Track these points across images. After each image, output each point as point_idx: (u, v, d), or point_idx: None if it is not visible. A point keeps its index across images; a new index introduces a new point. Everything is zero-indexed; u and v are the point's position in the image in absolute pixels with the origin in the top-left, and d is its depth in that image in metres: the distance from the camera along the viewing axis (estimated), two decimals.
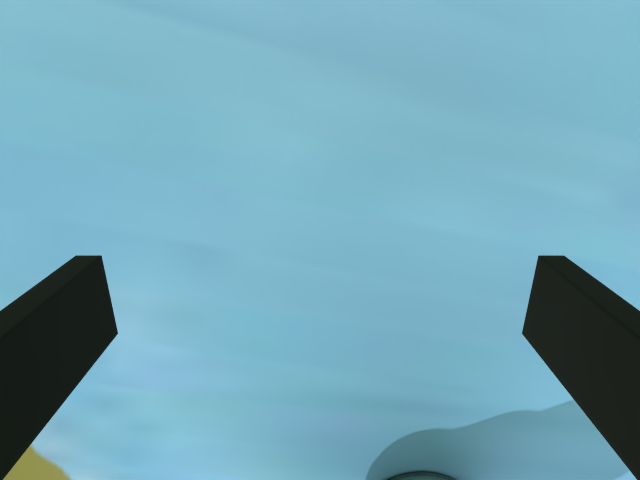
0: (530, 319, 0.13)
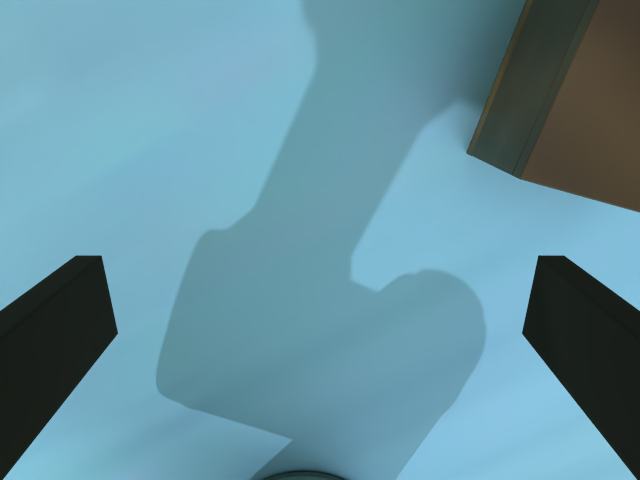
0: (530, 319, 0.13)
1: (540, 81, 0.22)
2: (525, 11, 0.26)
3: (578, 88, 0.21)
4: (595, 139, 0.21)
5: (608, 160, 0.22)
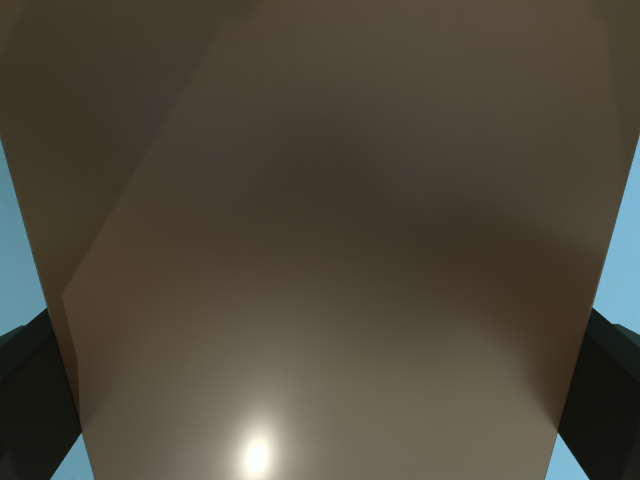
0: None
1: None
2: None
3: (93, 321, 0.08)
4: (203, 400, 0.09)
5: (259, 427, 0.09)
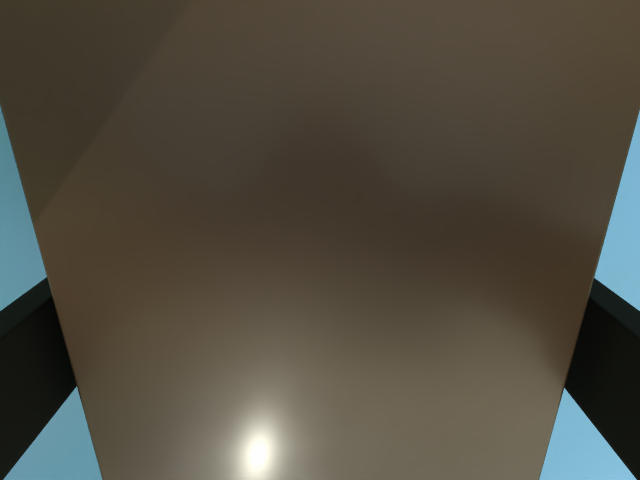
0: None
1: None
2: None
3: (98, 315, 0.09)
4: (206, 393, 0.09)
5: (261, 420, 0.10)
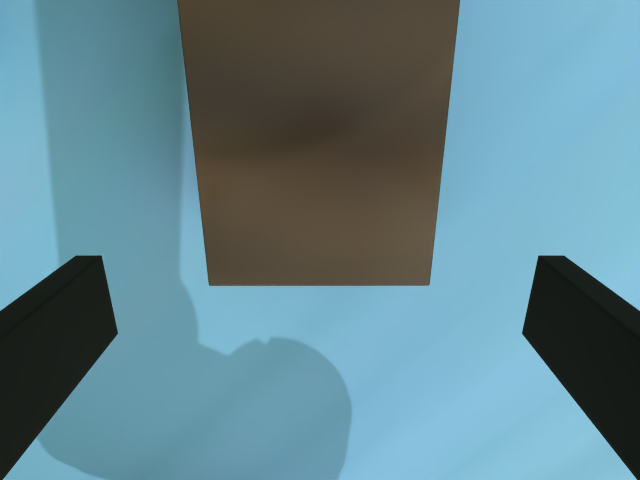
0: (530, 319, 0.13)
1: None
2: None
3: (217, 188, 0.19)
4: (264, 230, 0.19)
5: (290, 246, 0.20)
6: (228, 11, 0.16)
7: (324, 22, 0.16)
